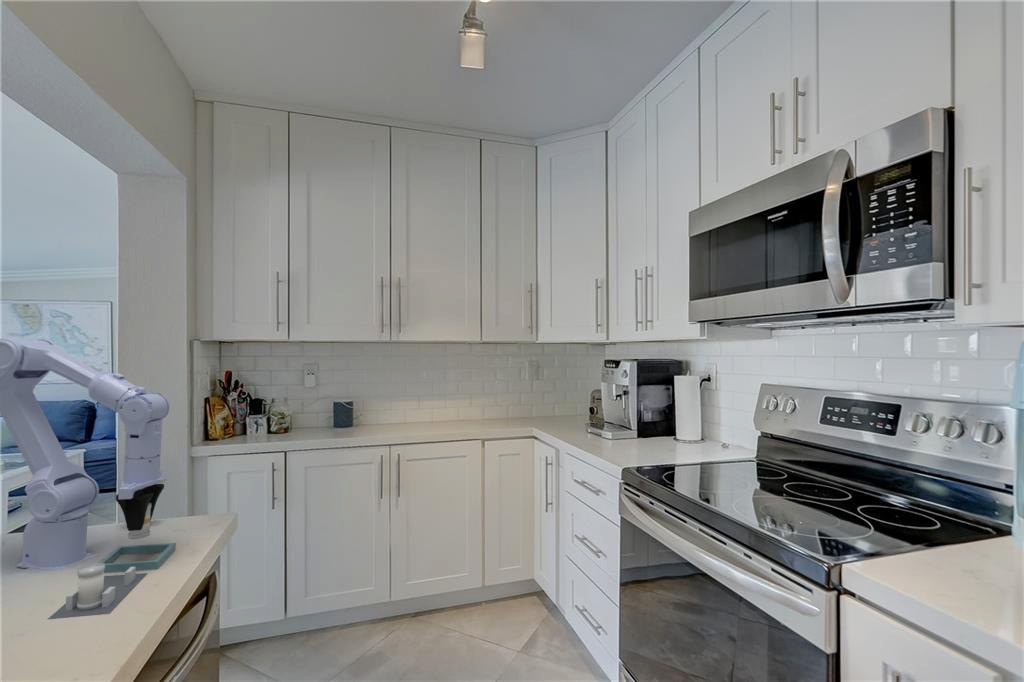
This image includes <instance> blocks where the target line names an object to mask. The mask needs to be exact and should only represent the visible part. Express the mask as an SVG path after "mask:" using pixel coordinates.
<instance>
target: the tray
mask: <svg viewBox="0 0 1024 682" xmlns="http://www.w3.org/2000/svg"><path fill="white" fill-rule="evenodd" d="M176 545H177V543H176V542H169V543H168V542H167V543H153V544H151V543H150V544H136V545H135V544H134V545H133V544H132V545H118V546H117V547H116V548H115V549H114V550H112V551H111V552H110V553H108V554H107V555H106V556H105V557H103V558H102V559H100V561H98V563H104V564H105V571H104V574H112V573H122V572H123V573H125V572H126V571H127V570H128V569H129V568H130V567H136V572H139V571H140V572H142V571H155V570H159V569H160V567H161V566H163V564H165V562H166V561H167V560H168V559H169V558H170V557H171V555H172V554H174V552H175V551H176V550H177V549H176ZM153 553H154V554H155V553H157V554H159V553H160V554H159V555H158V556H157V557H156V558H155V559H153V560H152V559H151V560H140V561H139V560H138V561H123V562H115V561H116V560H117V559H118V558H119V557H120V556H123V555H137V554H138V555H140V554H153Z"/></svg>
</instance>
